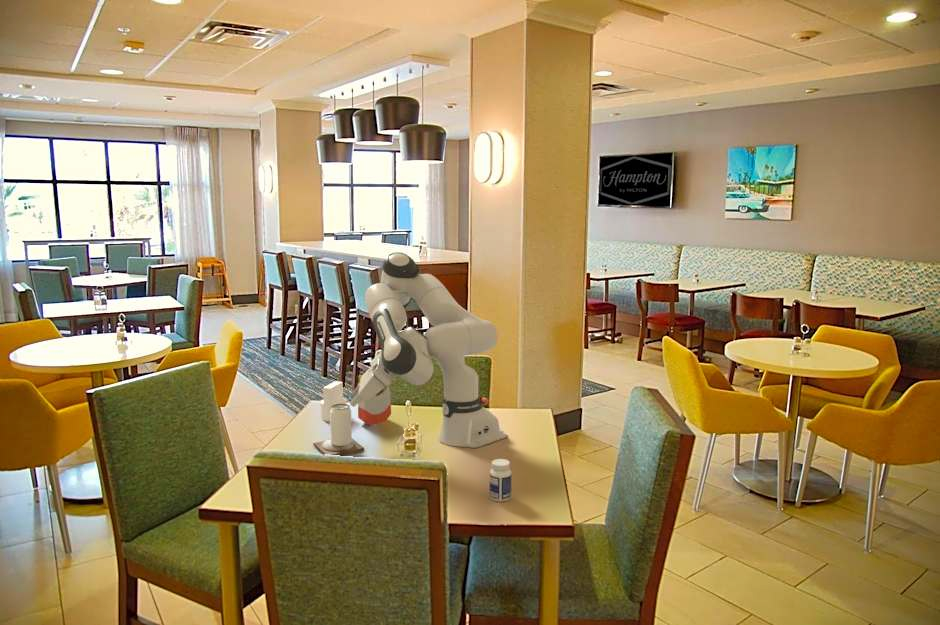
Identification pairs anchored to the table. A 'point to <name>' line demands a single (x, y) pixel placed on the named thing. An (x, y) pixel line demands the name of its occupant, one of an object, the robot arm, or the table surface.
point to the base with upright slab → (331, 398)
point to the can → (340, 425)
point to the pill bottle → (500, 480)
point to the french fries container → (375, 407)
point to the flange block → (338, 448)
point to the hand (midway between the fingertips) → (352, 400)
